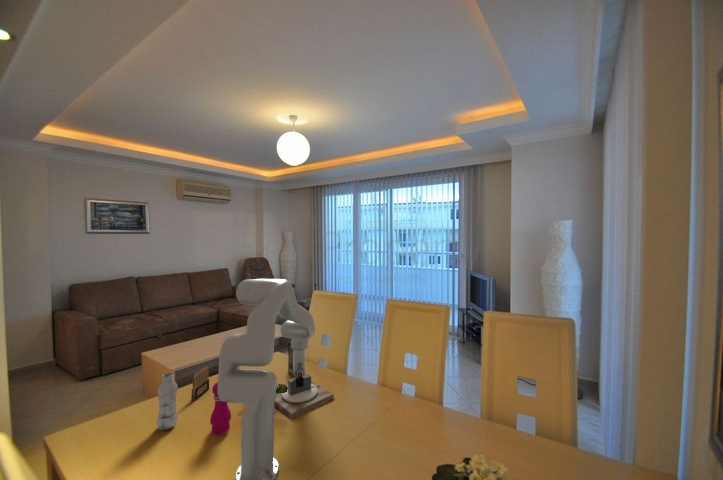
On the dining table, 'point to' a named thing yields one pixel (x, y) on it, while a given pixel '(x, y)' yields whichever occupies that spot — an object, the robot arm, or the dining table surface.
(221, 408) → the pepper mill
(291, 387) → the dial
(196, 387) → the ammunition clip
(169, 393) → the plastic bottle
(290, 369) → the coffee box
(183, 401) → the dining table surface
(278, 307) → the robot arm
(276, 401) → the dial board
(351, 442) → the dining table surface
